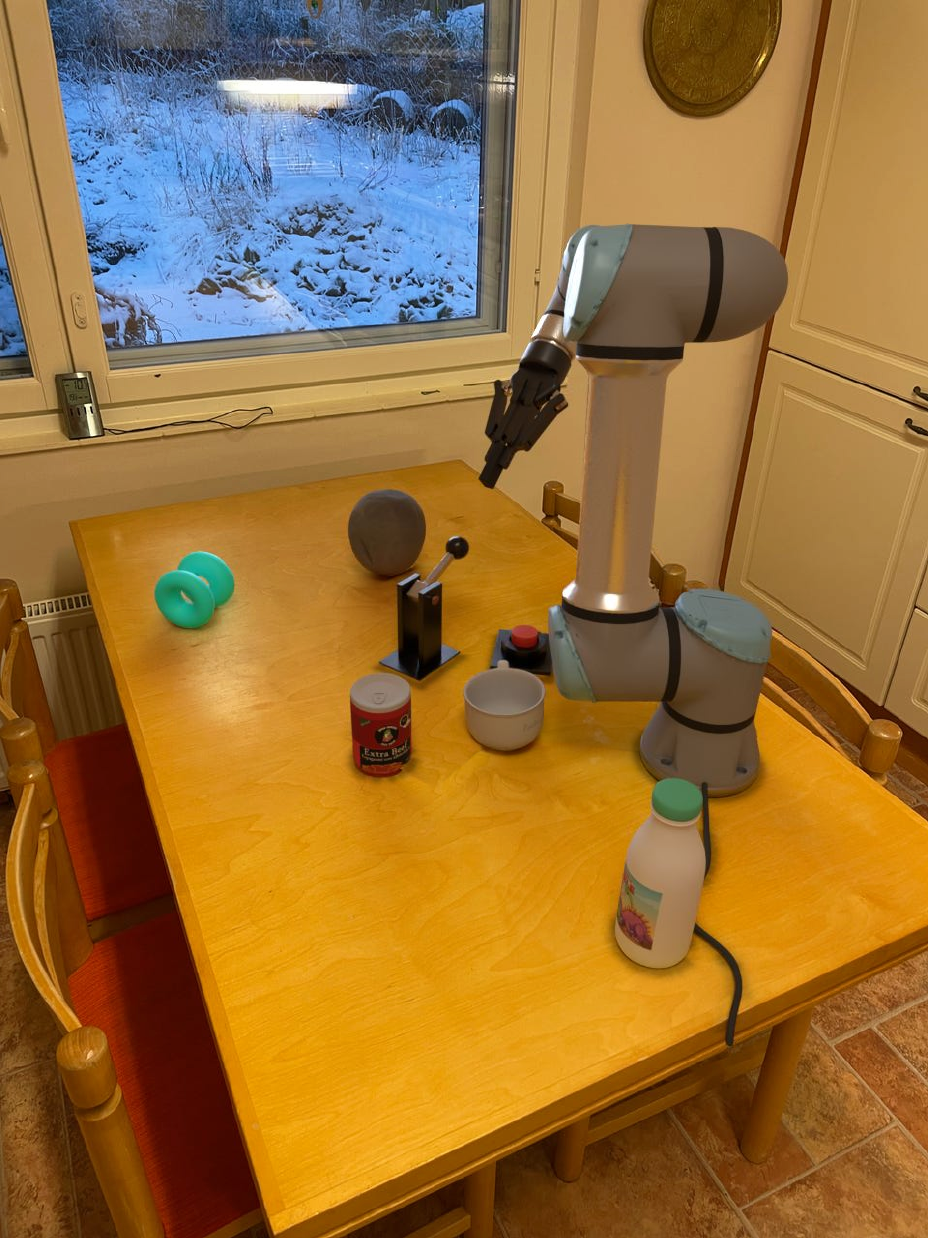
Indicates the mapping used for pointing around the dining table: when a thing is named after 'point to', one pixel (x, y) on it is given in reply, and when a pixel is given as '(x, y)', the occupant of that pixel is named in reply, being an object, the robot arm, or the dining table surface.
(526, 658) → the black button base
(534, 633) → the button
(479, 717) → the teacup
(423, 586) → the lever
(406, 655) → the black lever stand
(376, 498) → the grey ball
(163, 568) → the dining table surface
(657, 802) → the milk bottle
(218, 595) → the teal spool
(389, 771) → the canned food
